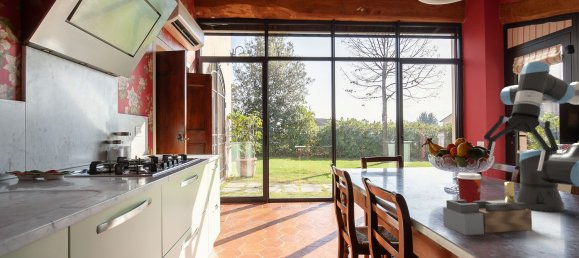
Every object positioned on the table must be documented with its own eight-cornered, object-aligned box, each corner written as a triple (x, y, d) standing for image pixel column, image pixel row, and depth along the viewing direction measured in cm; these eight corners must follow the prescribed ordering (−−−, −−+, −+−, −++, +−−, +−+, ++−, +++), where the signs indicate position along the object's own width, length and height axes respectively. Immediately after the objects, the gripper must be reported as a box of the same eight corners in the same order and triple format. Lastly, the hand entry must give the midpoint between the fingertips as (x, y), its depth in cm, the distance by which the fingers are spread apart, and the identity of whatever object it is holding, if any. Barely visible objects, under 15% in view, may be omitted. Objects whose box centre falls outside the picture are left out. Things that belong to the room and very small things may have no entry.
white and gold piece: (510, 205, 98) (509, 181, 99) (518, 207, 96) (517, 183, 96) (485, 206, 97) (484, 182, 97) (493, 209, 94) (492, 184, 94)
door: (509, 222, 101) (508, 198, 101) (532, 229, 93) (531, 203, 93) (466, 225, 99) (465, 200, 99) (485, 232, 91) (484, 206, 91)
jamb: (460, 224, 100) (459, 198, 100) (483, 234, 90) (482, 205, 90) (443, 225, 99) (442, 199, 99) (465, 235, 89) (464, 206, 89)
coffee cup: (487, 217, 107) (486, 175, 108) (462, 216, 109) (460, 175, 109) (477, 211, 116) (476, 172, 116) (454, 211, 117) (453, 172, 118)
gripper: (484, 98, 108) (470, 154, 106) (578, 107, 93) (564, 173, 91) (485, 104, 114) (472, 158, 112) (573, 114, 99) (560, 176, 97)
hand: (513, 165), depth 101 cm, fingers open, 13 cm apart
